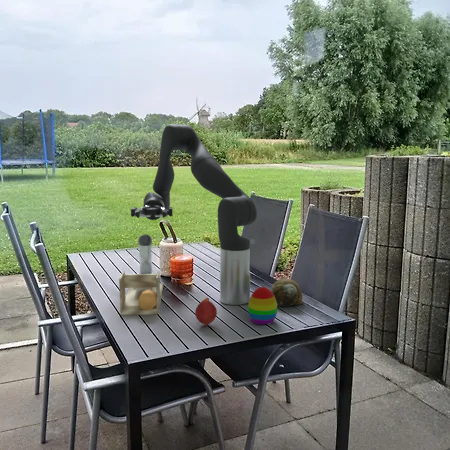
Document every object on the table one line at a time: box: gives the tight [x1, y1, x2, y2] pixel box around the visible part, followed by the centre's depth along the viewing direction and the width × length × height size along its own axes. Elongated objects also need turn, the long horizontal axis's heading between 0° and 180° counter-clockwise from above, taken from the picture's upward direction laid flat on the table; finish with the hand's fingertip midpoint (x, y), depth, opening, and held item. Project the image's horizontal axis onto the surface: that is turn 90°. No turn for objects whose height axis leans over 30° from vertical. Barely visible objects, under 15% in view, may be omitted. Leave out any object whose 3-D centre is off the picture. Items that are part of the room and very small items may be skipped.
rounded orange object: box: [138, 290, 157, 310], centre depth 134 cm, size 5×5×4 cm
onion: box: [194, 297, 218, 327], centre depth 125 cm, size 6×6×8 cm
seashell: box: [270, 277, 304, 307], centre depth 143 cm, size 11×9×8 cm
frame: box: [118, 270, 164, 316], centre depth 145 cm, size 11×26×11 cm, turn 5°
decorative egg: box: [247, 286, 278, 325], centre depth 128 cm, size 8×8×10 cm
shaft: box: [134, 234, 153, 290], centre depth 150 cm, size 6×13×16 cm, turn 5°
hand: (150, 214), depth 152 cm, fingers open, 8 cm apart
